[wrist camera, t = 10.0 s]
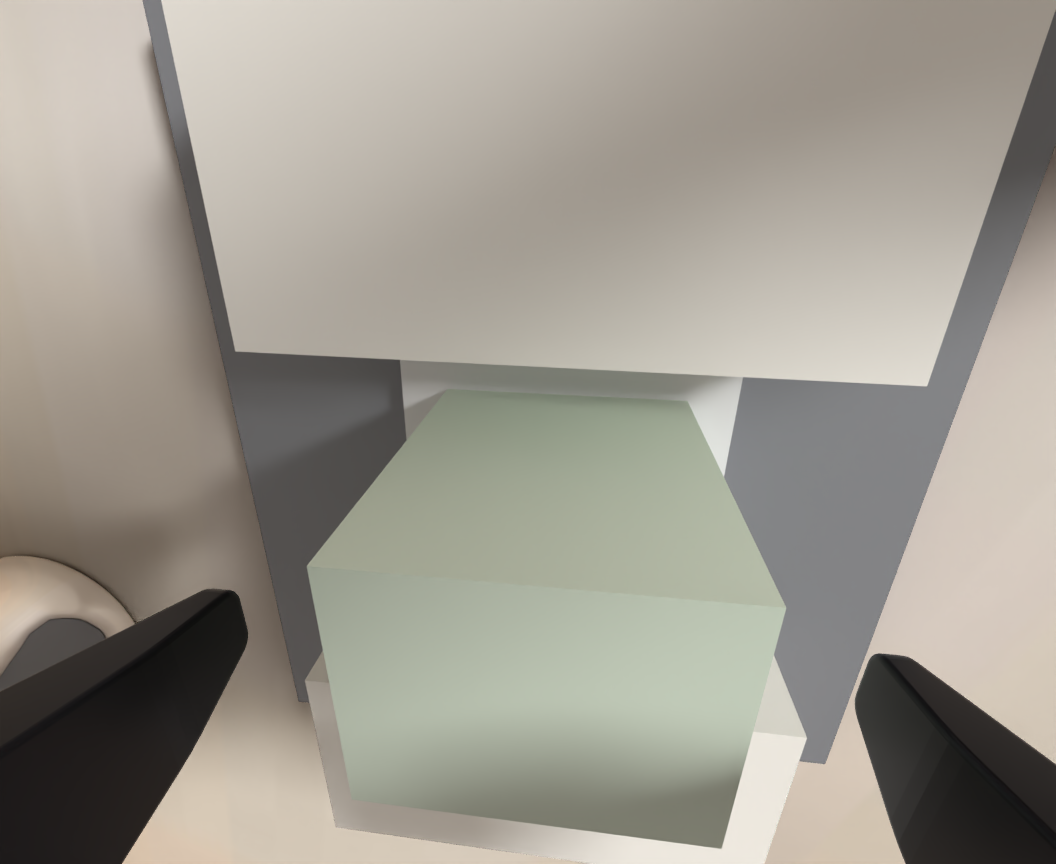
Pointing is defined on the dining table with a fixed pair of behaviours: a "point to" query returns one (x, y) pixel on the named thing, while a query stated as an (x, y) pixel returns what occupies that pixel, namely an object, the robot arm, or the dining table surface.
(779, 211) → the rail panel
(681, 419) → the block
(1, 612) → the beer glass
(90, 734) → the robot arm
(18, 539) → the dining table surface
